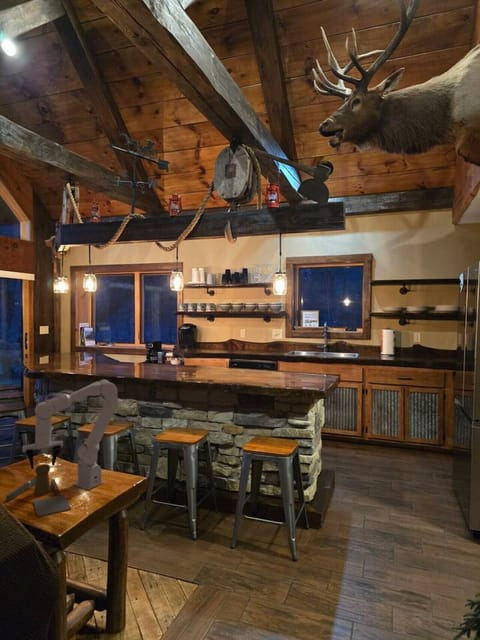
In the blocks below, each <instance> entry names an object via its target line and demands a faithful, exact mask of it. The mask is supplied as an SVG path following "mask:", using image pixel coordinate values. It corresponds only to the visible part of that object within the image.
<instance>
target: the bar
mask: <svg viewBox="0 0 480 640" xmlns="http://www.w3.org/2000/svg"><path fill="white" fill-rule="evenodd" d="M36 477H37V475H36V476H35V477H33V478H32V479H30V480H26V481H24V484H22V485H21V486H19V487H17V488H15V489H14V490H13V491H11V492H10V493H8V494H6V496H5V501H6V502H11V500H13V499H14V498H16V497H18V496H19V495H20V494H23V492H25V491H27V490H28V489H30V488H31V487H32V486H34V485H35V484H36Z"/></svg>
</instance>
